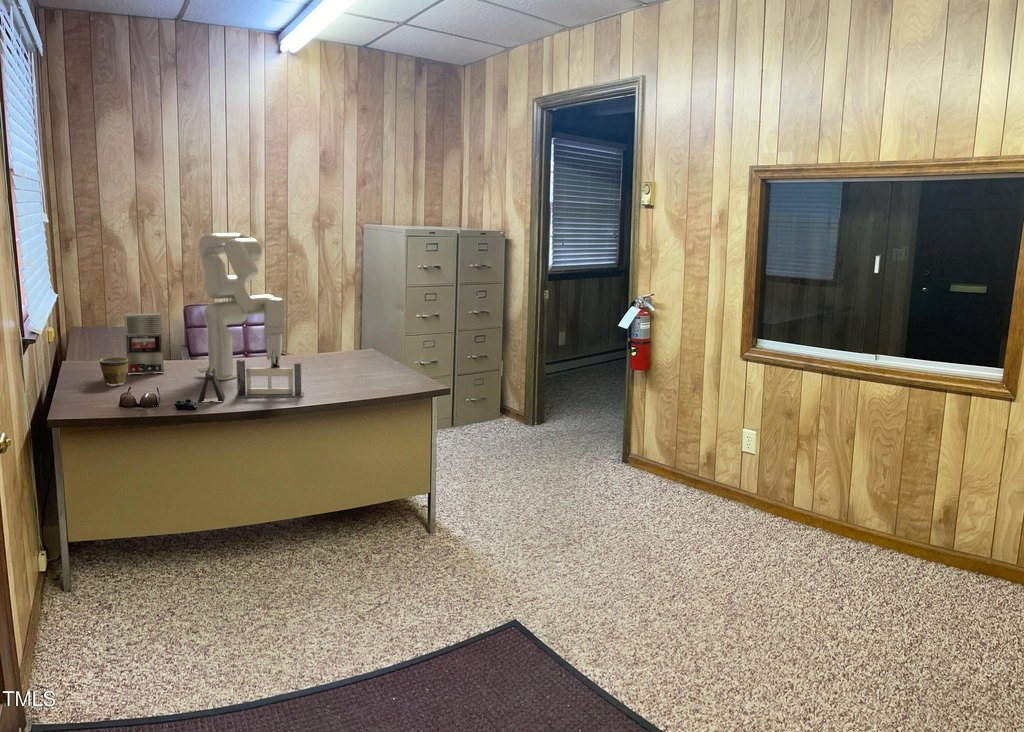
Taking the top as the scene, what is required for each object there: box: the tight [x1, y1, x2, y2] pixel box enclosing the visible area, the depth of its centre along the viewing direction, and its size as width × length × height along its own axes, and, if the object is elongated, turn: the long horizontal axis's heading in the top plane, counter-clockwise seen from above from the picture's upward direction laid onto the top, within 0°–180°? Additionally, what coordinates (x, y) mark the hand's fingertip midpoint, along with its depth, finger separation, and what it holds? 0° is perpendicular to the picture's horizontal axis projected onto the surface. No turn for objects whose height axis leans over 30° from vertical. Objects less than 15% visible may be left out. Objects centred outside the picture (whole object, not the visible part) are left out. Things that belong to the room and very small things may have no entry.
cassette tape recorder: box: [123, 312, 165, 374], centre depth 320 cm, size 14×6×25 cm, turn 114°
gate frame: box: [234, 359, 305, 399], centre depth 296 cm, size 25×6×14 cm, turn 102°
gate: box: [245, 367, 294, 394], centre depth 296 cm, size 17×2×10 cm, turn 101°
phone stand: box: [197, 368, 226, 403], centre depth 287 cm, size 9×6×12 cm, turn 105°
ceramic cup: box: [99, 356, 128, 384], centre depth 303 cm, size 13×10×10 cm
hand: (275, 375), depth 300 cm, fingers closed
